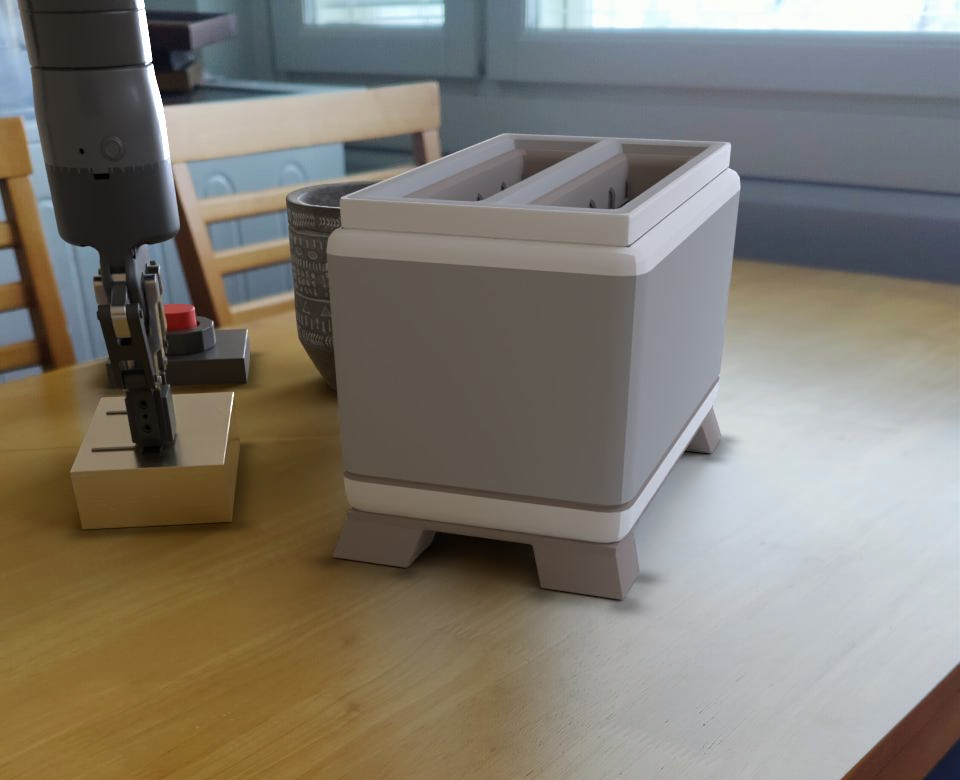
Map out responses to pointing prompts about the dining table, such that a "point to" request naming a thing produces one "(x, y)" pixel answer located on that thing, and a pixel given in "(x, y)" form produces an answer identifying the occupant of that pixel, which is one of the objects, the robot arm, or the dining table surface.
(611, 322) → the toaster
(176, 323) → the button
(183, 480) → the panel
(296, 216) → the planter
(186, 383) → the button housing
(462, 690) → the dining table surface
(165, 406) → the slider
